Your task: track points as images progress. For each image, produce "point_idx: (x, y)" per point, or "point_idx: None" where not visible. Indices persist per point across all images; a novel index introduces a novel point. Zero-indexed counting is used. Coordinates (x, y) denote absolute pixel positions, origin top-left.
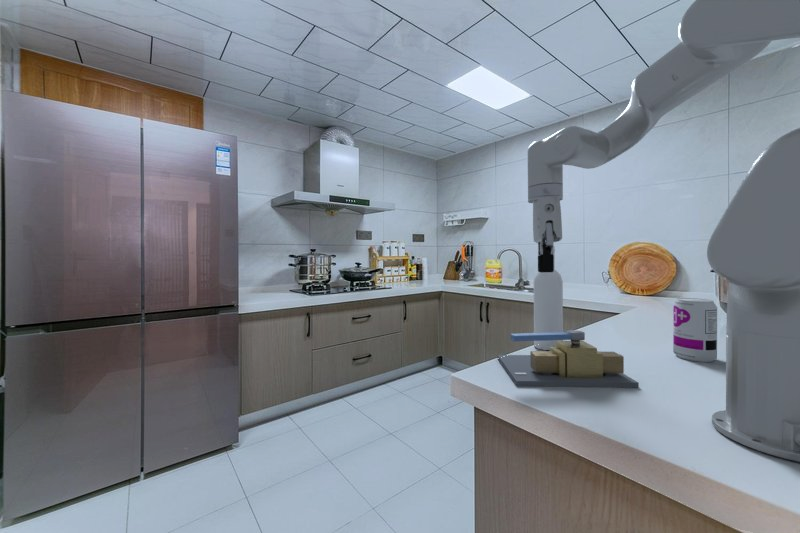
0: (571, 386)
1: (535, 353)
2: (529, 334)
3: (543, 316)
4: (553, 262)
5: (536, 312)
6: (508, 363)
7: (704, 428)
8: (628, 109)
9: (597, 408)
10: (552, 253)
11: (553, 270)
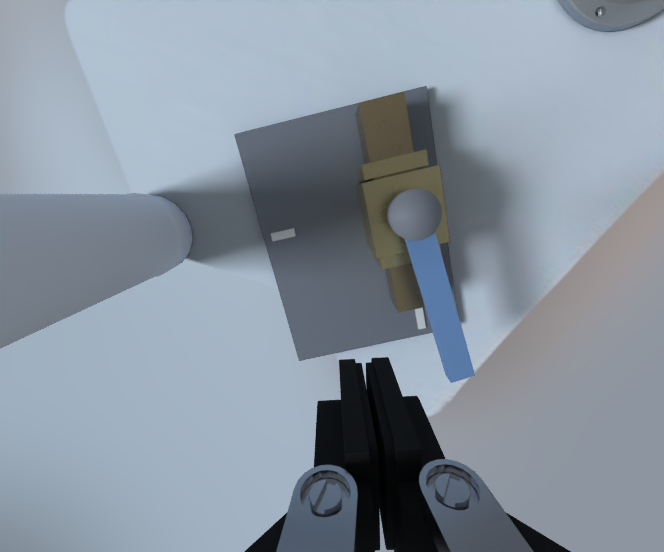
0: None
1: (416, 303)
2: (454, 339)
3: (135, 271)
4: (402, 397)
5: (110, 296)
6: (357, 338)
7: (591, 48)
8: None
9: (533, 202)
10: (478, 481)
11: (387, 360)
